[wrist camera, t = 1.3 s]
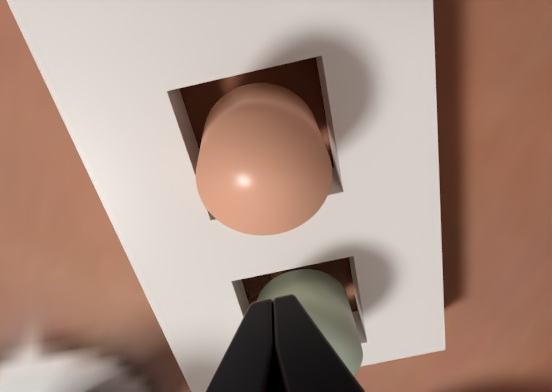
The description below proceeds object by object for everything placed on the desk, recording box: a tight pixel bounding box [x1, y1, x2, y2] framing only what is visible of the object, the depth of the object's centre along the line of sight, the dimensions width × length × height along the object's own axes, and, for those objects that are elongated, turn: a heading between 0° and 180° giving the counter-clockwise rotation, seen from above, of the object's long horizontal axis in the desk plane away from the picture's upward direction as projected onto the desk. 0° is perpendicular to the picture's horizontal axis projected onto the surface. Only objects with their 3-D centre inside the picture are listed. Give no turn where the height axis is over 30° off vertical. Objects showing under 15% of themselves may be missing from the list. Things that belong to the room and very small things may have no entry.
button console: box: [7, 0, 445, 392], centre depth 17 cm, size 12×24×2 cm, turn 12°
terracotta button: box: [196, 83, 332, 236], centre depth 15 cm, size 4×4×3 cm
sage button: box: [257, 269, 363, 376], centre depth 19 cm, size 4×4×3 cm
